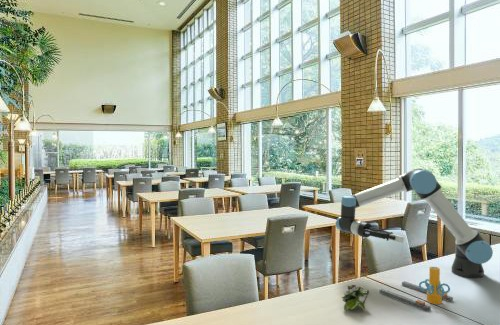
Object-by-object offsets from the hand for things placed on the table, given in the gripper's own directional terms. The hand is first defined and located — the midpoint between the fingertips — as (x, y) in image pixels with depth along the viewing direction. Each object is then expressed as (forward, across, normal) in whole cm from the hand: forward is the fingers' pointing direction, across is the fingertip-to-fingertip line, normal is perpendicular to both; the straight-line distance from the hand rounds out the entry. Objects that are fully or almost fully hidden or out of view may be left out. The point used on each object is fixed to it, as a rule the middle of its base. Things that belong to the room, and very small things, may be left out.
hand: (402, 239), depth 174 cm
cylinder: (+16, -3, -24) cm, 29 cm away
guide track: (+9, -1, -24) cm, 26 cm away
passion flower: (+1, +30, -28) cm, 41 cm away
